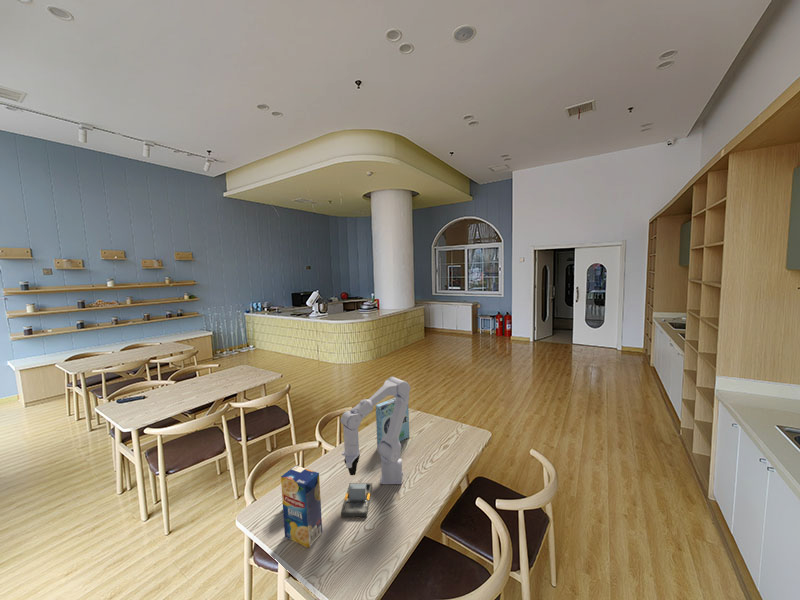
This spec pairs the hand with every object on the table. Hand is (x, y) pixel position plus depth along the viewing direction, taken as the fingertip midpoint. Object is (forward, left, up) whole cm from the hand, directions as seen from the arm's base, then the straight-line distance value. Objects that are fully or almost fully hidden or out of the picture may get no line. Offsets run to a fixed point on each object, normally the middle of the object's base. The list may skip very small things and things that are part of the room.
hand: (352, 474), depth 127 cm
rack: (-2, +2, -10) cm, 10 cm away
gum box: (-14, -42, -10) cm, 45 cm away
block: (-2, +2, -9) cm, 10 cm away
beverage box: (+14, +18, -10) cm, 25 cm away
